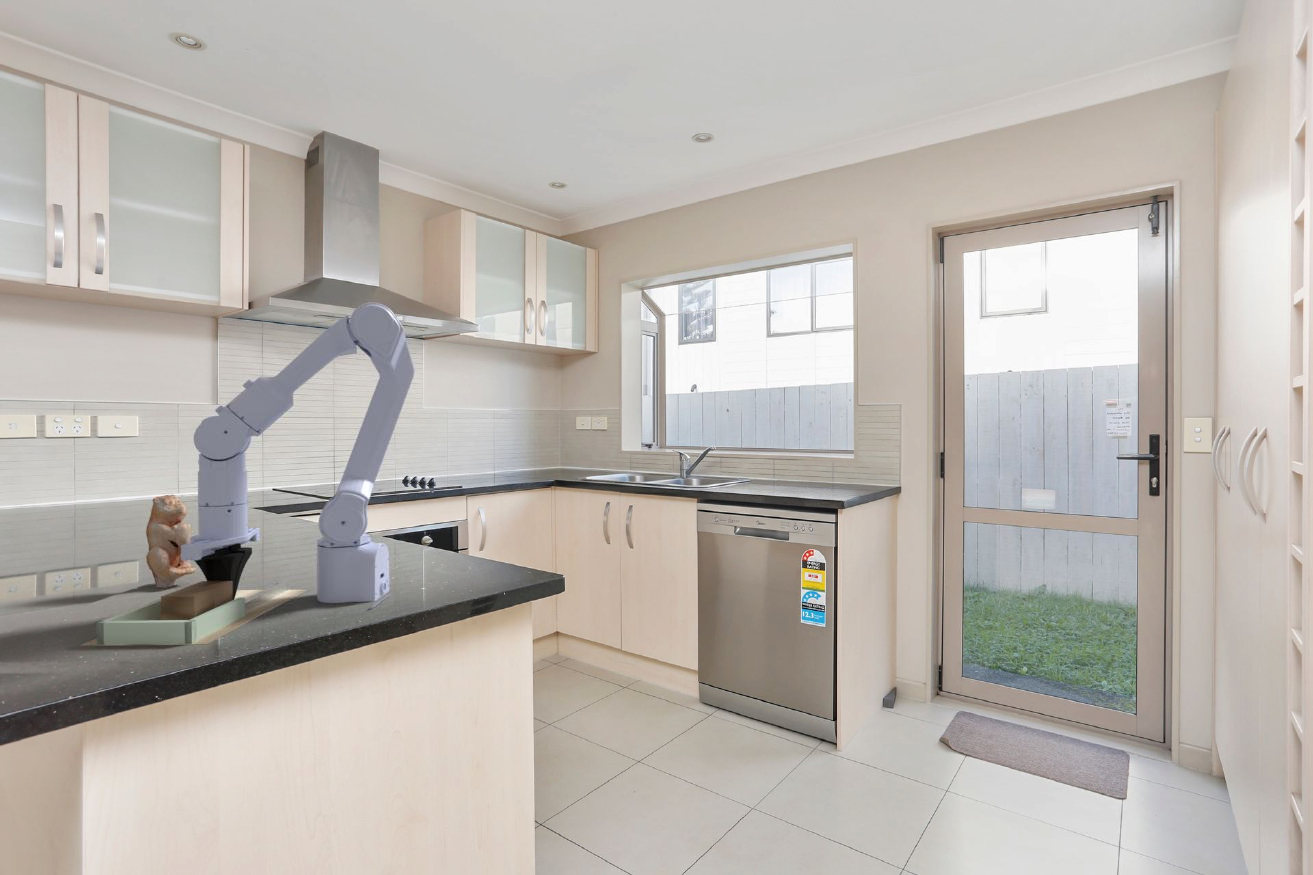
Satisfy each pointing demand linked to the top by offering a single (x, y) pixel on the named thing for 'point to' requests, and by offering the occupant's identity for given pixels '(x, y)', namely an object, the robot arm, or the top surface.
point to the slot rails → (264, 594)
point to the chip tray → (165, 625)
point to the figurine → (167, 541)
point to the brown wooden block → (217, 590)
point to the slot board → (248, 617)
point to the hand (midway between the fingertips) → (224, 601)
